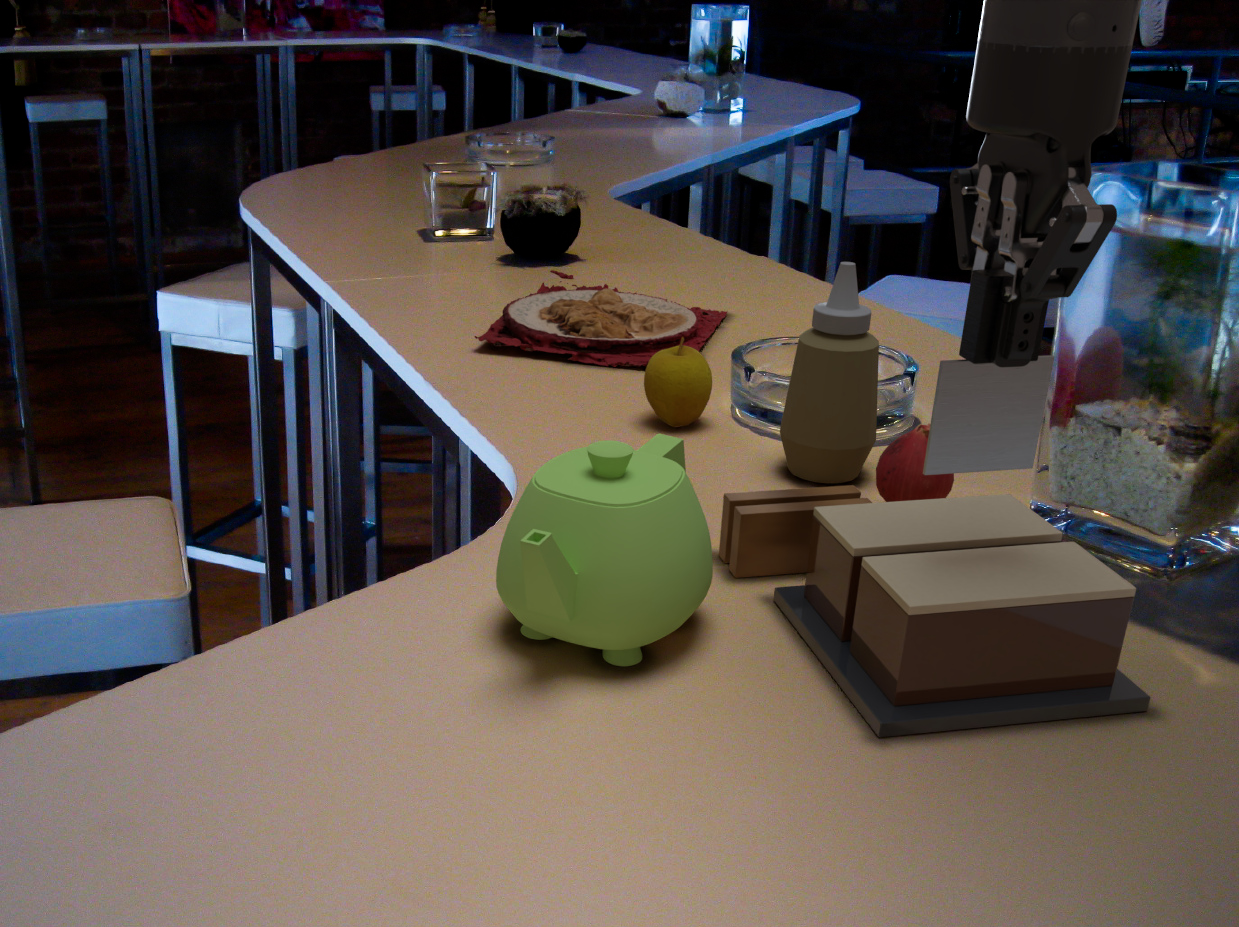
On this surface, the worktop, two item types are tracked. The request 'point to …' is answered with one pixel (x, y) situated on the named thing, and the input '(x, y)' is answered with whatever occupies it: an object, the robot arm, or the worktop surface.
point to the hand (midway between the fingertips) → (998, 357)
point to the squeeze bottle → (833, 389)
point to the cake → (961, 616)
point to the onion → (909, 470)
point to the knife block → (774, 527)
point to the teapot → (607, 548)
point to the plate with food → (600, 324)
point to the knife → (986, 395)
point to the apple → (678, 384)
